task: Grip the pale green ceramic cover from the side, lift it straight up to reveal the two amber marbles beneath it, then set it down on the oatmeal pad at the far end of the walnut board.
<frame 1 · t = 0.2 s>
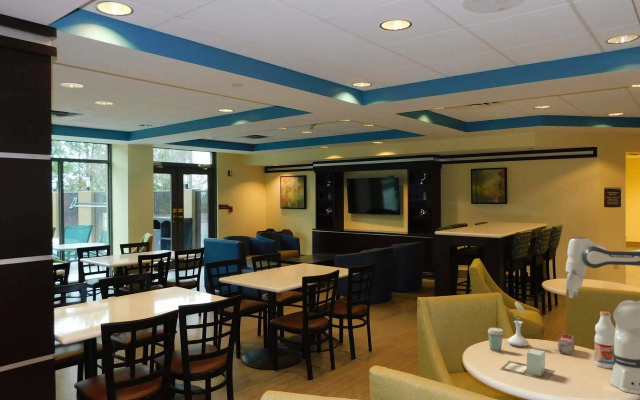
hand: (572, 296, 229), 39 cm above the table, tool pointing down, fingers open, 8 cm apart
flower in vase: (517, 344, 274), on the table
amber marble a: (536, 370, 230), point 1 cm above the table, touching walnut board
amber marble b: (534, 373, 227), point 1 cm above the table, touching walnut board
coffee cup: (495, 350, 263), on the table
fruit juice: (604, 365, 241), on the table
walnut board: (527, 372, 231), on the table
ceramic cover: (535, 372, 228), point 1 cm above the table, touching walnut board
food item: (566, 352, 262), on the table
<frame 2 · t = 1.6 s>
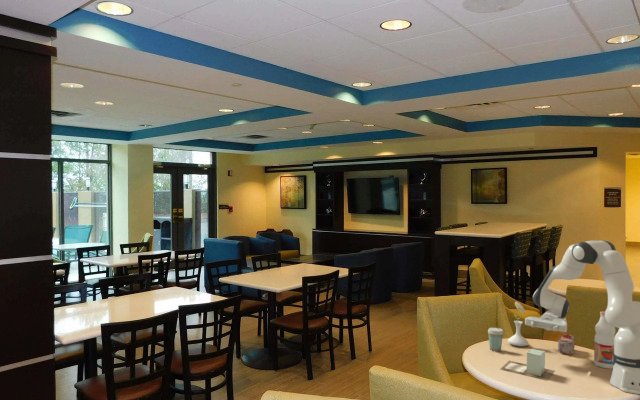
hand: (542, 327, 238), 20 cm above the table, tool horizontal, fingers open, 8 cm apart
nothing on the table moved.
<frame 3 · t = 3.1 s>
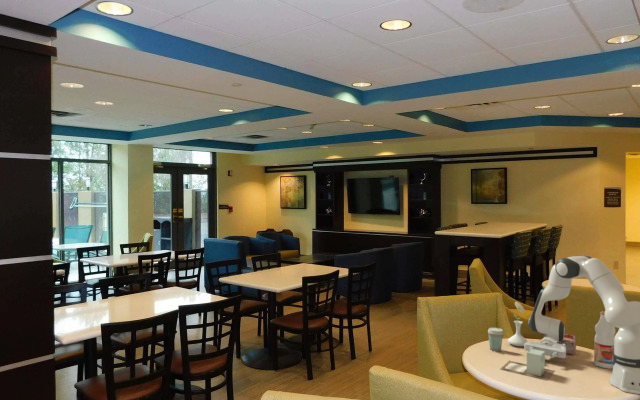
hand: (541, 353, 239), 7 cm above the table, tool horizontal, fingers open, 8 cm apart
food item: (568, 351, 262), on the table, touching arm
everything else where it was.
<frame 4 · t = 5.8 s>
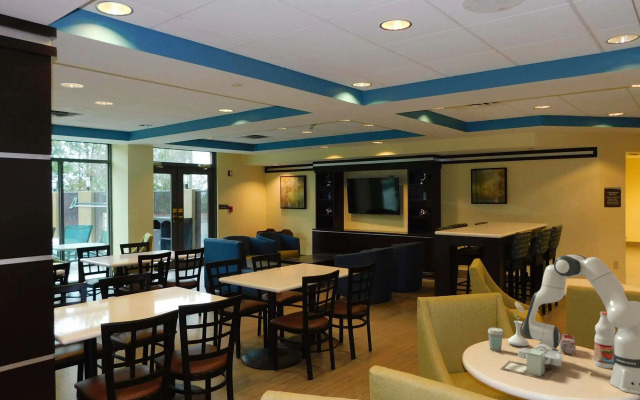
hand: (535, 360, 228), 7 cm above the table, tool horizontal, fingers closed on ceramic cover, 6 cm apart
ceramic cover: (535, 372, 228), point 1 cm above the table, touching gripper, walnut board
food item: (567, 352, 262), on the table
everything else where it was.
when the fingers open (8 cm above the table, at t = 11.6 s): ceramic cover drops 1 cm, resting on walnut board.
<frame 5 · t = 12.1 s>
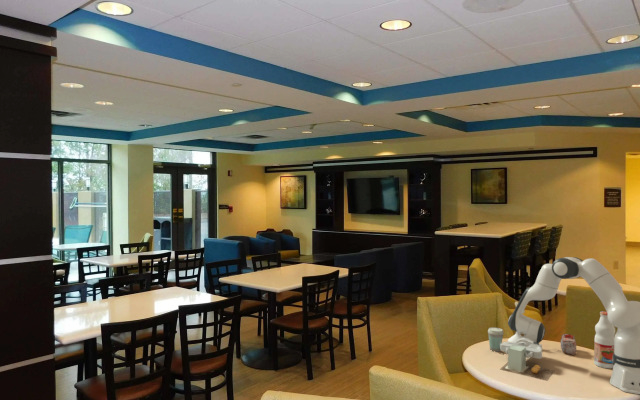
hand: (517, 354, 234), 8 cm above the table, tool horizontal, fingers open, 8 cm apart
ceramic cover: (516, 367, 234), point 1 cm above the table, touching walnut board
everything else where it was.
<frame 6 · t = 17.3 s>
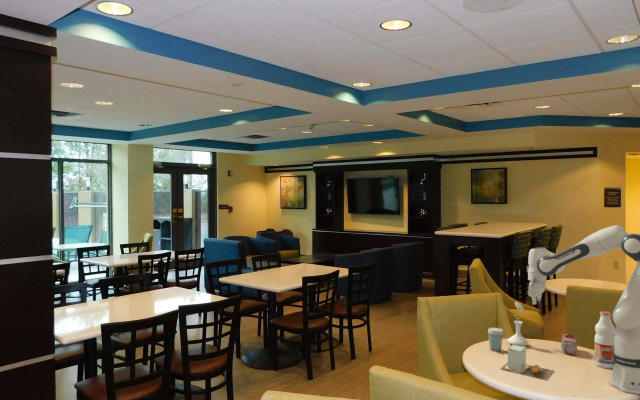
hand: (536, 302, 247), 31 cm above the table, tool pointing down, fingers open, 8 cm apart
nothing on the table moved.
at the end: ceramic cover inside the target area (0.0 cm from its centre), point 1.1 cm above the table; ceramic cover tilted 0°; the gripper is holding nothing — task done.
